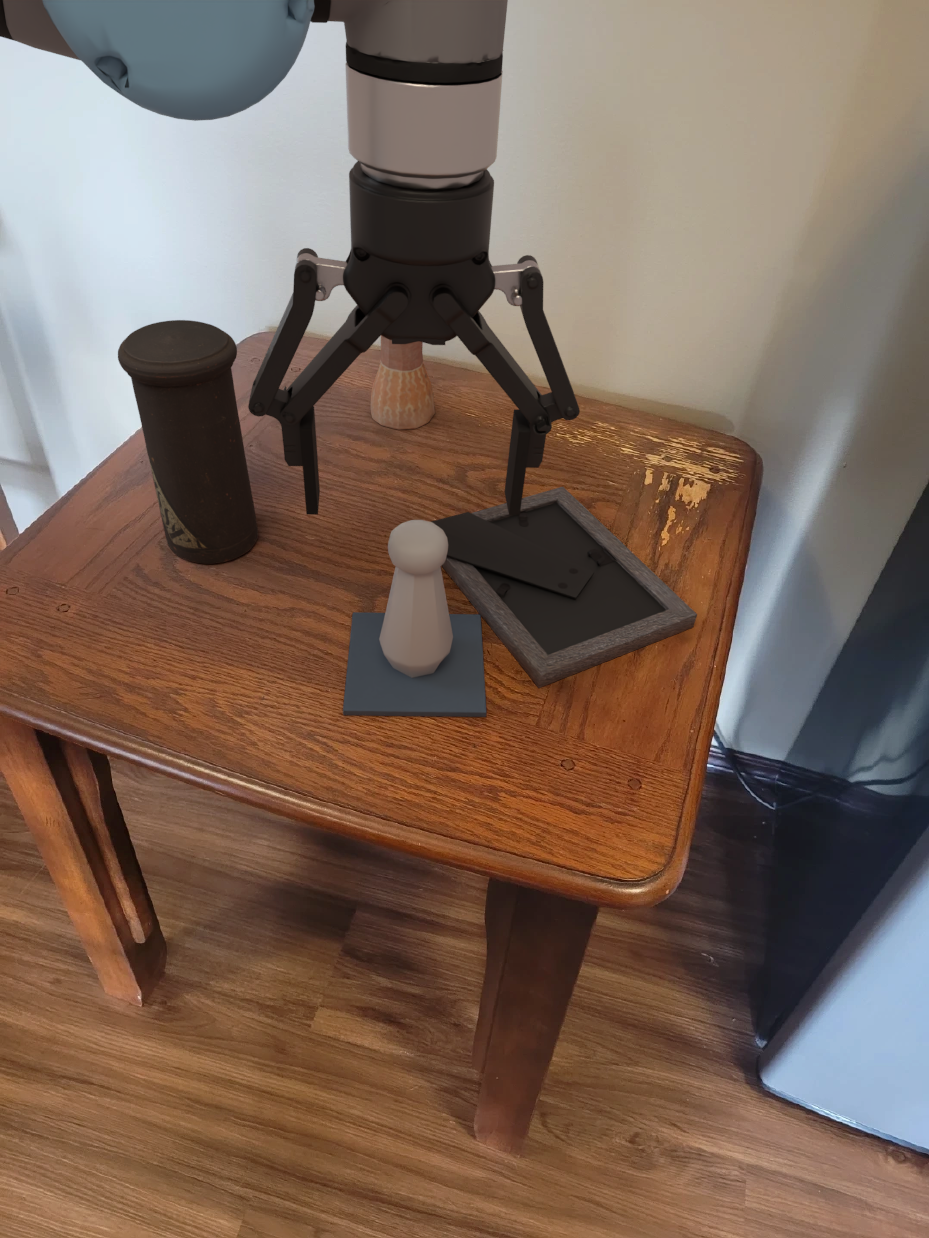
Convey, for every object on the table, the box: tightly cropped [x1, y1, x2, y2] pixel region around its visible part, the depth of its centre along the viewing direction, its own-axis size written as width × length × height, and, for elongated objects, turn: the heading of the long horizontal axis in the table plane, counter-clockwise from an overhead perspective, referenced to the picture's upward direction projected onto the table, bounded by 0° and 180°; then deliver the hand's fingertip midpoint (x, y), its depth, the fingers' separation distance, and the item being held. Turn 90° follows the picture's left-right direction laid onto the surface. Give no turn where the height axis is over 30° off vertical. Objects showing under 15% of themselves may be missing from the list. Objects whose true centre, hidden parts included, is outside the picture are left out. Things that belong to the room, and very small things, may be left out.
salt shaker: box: [379, 519, 453, 678], centre depth 64 cm, size 6×6×13 cm
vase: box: [369, 335, 436, 431], centre depth 88 cm, size 10×7×30 cm
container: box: [117, 319, 259, 565], centre depth 73 cm, size 9×9×20 cm
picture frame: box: [430, 486, 698, 689], centre depth 77 cm, size 16×2×21 cm
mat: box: [342, 611, 487, 718], centre depth 69 cm, size 11×11×1 cm
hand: (413, 503), depth 58 cm, fingers open, 13 cm apart
